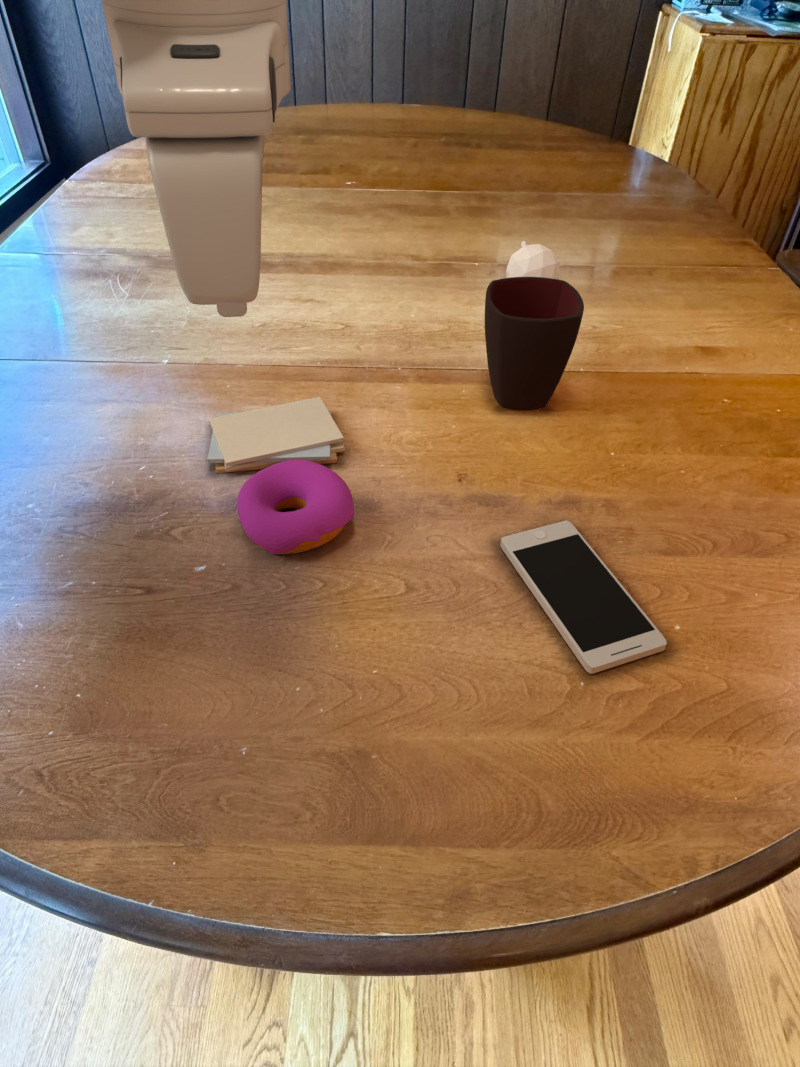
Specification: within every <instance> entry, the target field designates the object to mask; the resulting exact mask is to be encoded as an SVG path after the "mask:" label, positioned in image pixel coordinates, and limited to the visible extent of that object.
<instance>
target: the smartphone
mask: <svg viewBox="0 0 800 1067" xmlns="http://www.w3.org/2000/svg"><path fill="white" fill-rule="evenodd" d="M500 548H501V550H502V552H503V553H504V554H505V555H506V557H507V559H508V560H509V561H510V563H511V565H512V566H513V567H514V569H515V570H516V572H517V573H518V575H519V576H520V578H521V579H522V580H523V582H524V583H525V585H526V586H527V588H528V589H529V590H530V592H531V594H532V595H533V596H534V598H535V599H536V601H537V603H539V605H540V607H541V608H542V610H543V611H544V612H545V614H546V615H547V617H548V618H549V620H550V621H551V622H552V624H553V626H554V627H555V628H556V630H557V631H558V633H559V634H560V636H561V637H562V639H563V640H564V641H565V643H566V644H567V646H568V647H569V649H570V650H571V651H572V653H573V655H574V656H575V657H576V659H577V660H578V662H579V663H580V664H581V666H582V668H583V669H584V670H585V671H586V672H587V673H588V674H591V675H593V674H596V673H599V672H602V671H605V670H608V669H611V668H614V667H618V666H621V665H624V664H627V663H630V662H633V661H636V660H640V659H642V658H645V657H648V656H652V655H655V654H658V653H660V652H664V651H665V649H666V647H667V645H668V641H667V638H666V637H665V636H664V635H663V634H662V632H661V631H660V630H659V628H658V627H657V626H656V625H655V623H653V621H652V620H651V619H650V618H649V617H648V615H647V614H646V613H645V611H644V610H643V609H642V608H641V606H640V605H639V604H638V603H637V602H636V600H635V599H634V598H633V597H632V596H631V594H630V593H629V592H628V590H627V589H626V588H625V587H624V586H623V584H622V583H621V582H620V580H618V579H617V576H616V575H615V574H614V573H613V572H612V571H611V569H610V568H609V567H608V566H607V565H606V563H605V562H604V561H603V559H601V557H600V556H599V555H598V554H597V553H596V551H595V550H594V548H593V547H592V546H591V545H590V544H589V543H588V541H587V540H586V538H585V537H584V536H583V535H582V534H581V533H580V531H579V529H577V528H576V526H575V525H574V524H573V522H571V521H569V520H563V521H558V522H555V523H551V524H547V525H543V526H539V527H536V528H532V529H528V530H524V531H520V532H516V533H512V534H508V535H504V536H502V537H501V538H500Z"/></svg>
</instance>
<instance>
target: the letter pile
mask: <svg viewBox="0 0 800 1067" xmlns="http://www.w3.org/2000/svg"><path fill="white" fill-rule="evenodd" d="M208 421H209V424H210V427H211V430H212V433H211V436H210V443H209V448H208V453H207V459H206V460H207V464H215V473H216V474H221V473H223V474H224V473H234V472H245V471H256V470H257V471H258V470H263V469H265V468H267V467H269V466H272V465H274V464H277V463H280V462H283V461H287V460H306V461H311V462H315V463H318V464H321V465H325V464H337V463H338V456H337V453H340V452H345V450H346V449H345V445H344V442H345V437H344V436H343V434H342V431H341V430H340V429H339V426H338V425H337V424H336V422H335V420H334V418H333V417H332V415H331V410H329V409H328V407H327V405H326V404H325V403H324V401H323V399H322V397H321V396H316V397H312V398H307V399H301V400H296V401H291V402H285V403H280V404H276V405H271V406H266V407H262V408H261V407H260V408H256V409H250V410H246V411H245V410H244V411H239V412H216V413H215V416H214V417H210V418H208Z"/></svg>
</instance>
